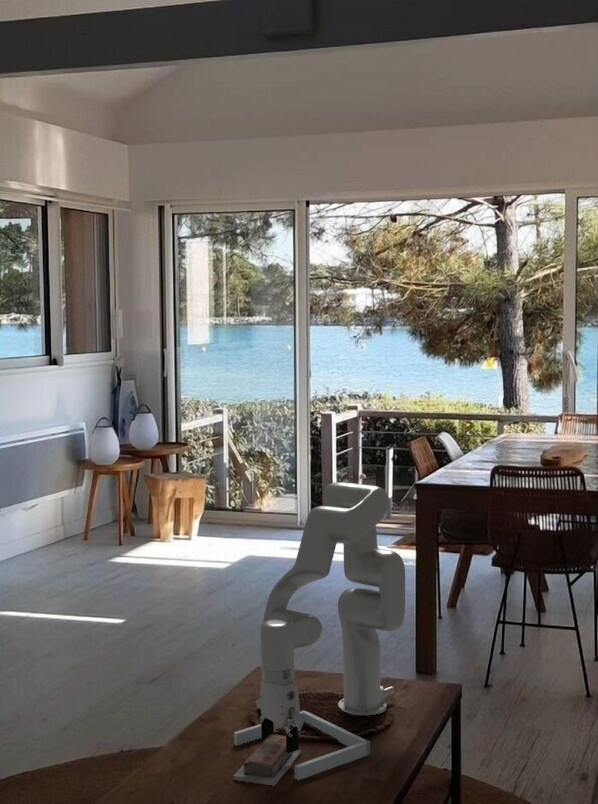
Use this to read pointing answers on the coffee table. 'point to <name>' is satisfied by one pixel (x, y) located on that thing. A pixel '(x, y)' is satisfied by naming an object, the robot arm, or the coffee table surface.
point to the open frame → (352, 752)
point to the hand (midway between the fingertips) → (279, 744)
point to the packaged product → (267, 762)
